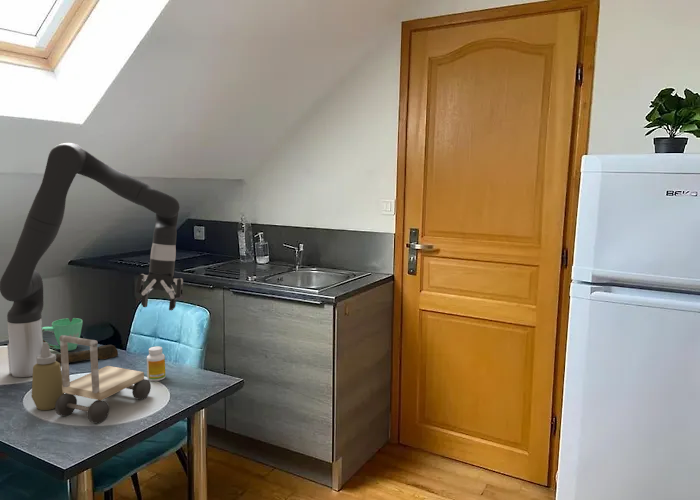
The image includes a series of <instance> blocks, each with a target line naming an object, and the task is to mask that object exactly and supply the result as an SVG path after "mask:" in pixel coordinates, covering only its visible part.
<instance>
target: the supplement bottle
mask: <svg viewBox="0 0 700 500" xmlns="http://www.w3.org/2000/svg"><path fill="white" fill-rule="evenodd" d="M166 376H167V374H166V356H165V354H164V353H163V347H162V346H159V345H158V346H151V347H150V348H148V355H147V356H146V377H147V380H149V382H159V381H161V380H164V379H165V378H166Z"/></svg>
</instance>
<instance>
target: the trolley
mask: <svg viewBox="0 0 700 500" xmlns="http://www.w3.org/2000/svg"><path fill="white" fill-rule="evenodd" d="M59 340H60V349H59V350H60V354H61V364H60V366H61V372H62V381H63V385H62V391H63V393H64V394H62V395H61V396H60V397H59V398H58V399H57V401H56V404H55V408H54V410H55V413H56V414H57V415H59V416H64V417H66V416H67V417H68V416H69V415H71V414H72V413H74V411H75V410H79V411H83V412H87V420H88V421H89V422H91V423H95V424H101V423H103V422H104V421H105V420H106V419H107V417H108V415H109V412H110V406H109V403H108V402H107V401H105V400H104V399H107V398H109V397H110V396H113V395H114V394H116V393H119V392H121V391H122V390H125V389H126V390H127V389H128V390H132V396H133V397H134V399H136V400H140V401H141V400H145V399H146V398H147V397H148V396H149V395H150V392H151V387H152V385H151V381H150V380H148V379H145V372H144V371H139V370H135V369H134V370H133V369H128V368H124V367H118V366H117V367H116V366H111V365H106V366H104V367H101V368H99V360H98V352H97V348H98V340H95V339H89V338H82V337H80V338H77V337H71V336H64V335H61V336H60V337H59ZM67 342H68V343H74V344H78V345H80V346H88V347H89V350H90V373H88V374H85V375H83V376H80V377H78V378H75V379H73V380H72V381H70V380H71V379H70V365H69V360H68V353H69V351H68V343H67ZM77 397H83V398H88V399H91V400H92V399H93V400H94V401H93V402H92V403H91V404H90V405H89V406H86V405H82V404H78V399H77Z"/></svg>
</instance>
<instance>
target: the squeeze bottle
mask: <svg viewBox="0 0 700 500" xmlns="http://www.w3.org/2000/svg"><path fill="white" fill-rule="evenodd" d="M48 343H49V342H48ZM48 343H47V341H46V342H45V343H43V345H42V350H41V355H39V356H37V357H36V362H37V364H35V365H34V366H33V376H31V377H32V382H31V398H32V401H33V403H34V405H35V406H36V409H37V410H40V411H49V410H53V409H54V410H55V404H56V401H57V399H58V398H59V397H60V396H61V395H62V394H65V393H63V391H62V385H63V381H62V366H61V364H60V363H59V362H57V361H56V353H52V352H51V348H50V347H49V345H48Z"/></svg>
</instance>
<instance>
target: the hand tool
mask: <svg viewBox="0 0 700 500" xmlns="http://www.w3.org/2000/svg"><path fill="white" fill-rule="evenodd" d="M97 352H98V359H99V360H106V359H107V360H108V359H111V358H115V357H118V356H119V352H118V349H117V347H116V346H115V345H113V344H107V345H100V346H97ZM55 355H56V361H57V362H59V363H60V365H61V353H55ZM68 360H69V363H76V362H81V361H89V360H90V361H91V359H90V349H87V350H80V351H71V352H68Z"/></svg>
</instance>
